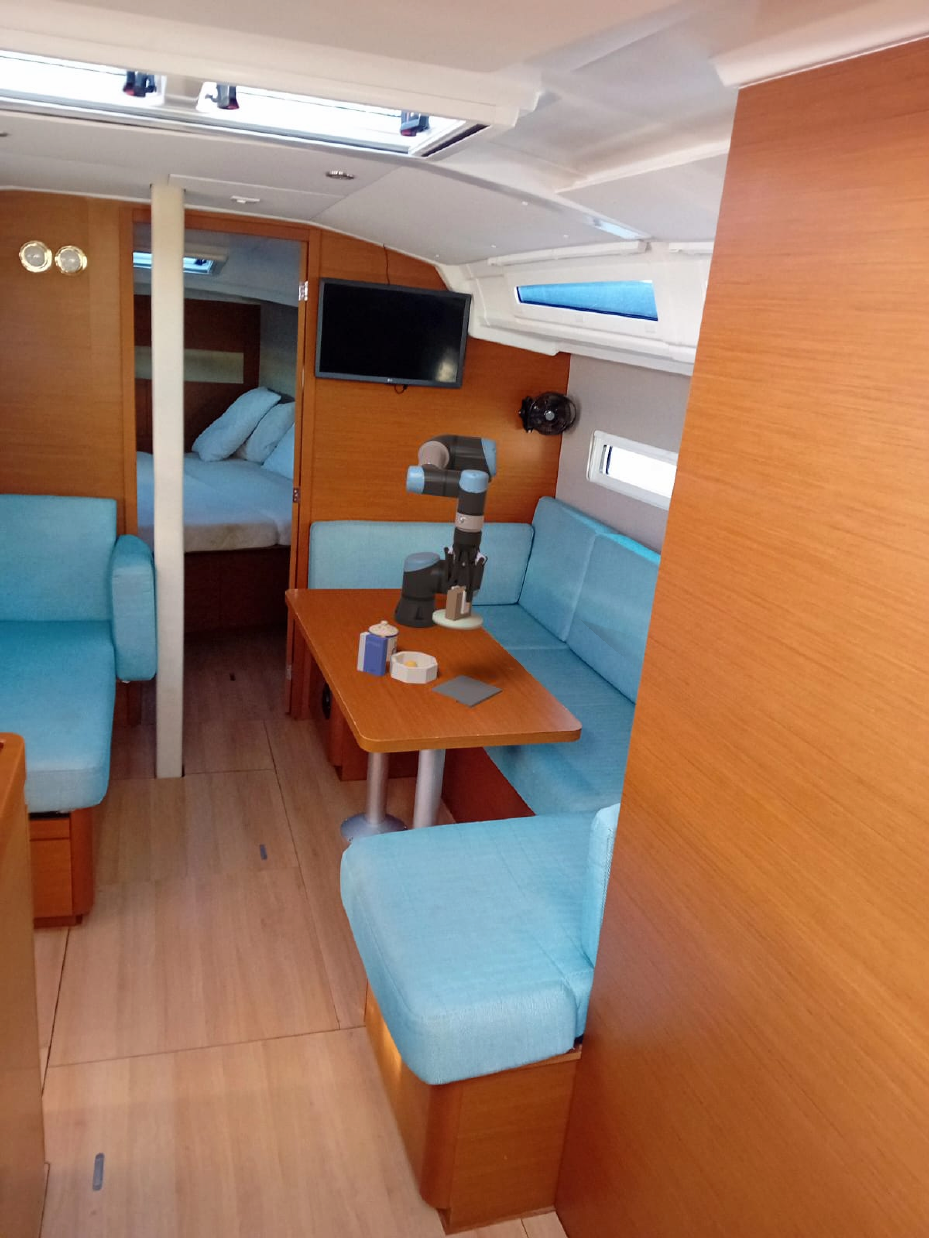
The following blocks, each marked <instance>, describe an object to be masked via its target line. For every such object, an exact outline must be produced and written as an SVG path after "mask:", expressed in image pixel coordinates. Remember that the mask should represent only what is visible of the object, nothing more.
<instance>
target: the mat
mask: <svg viewBox="0 0 929 1238" xmlns="http://www.w3.org/2000/svg"><path fill="white" fill-rule="evenodd" d="M430 690H431V691H432V692H435V693H439V694H440V695H443V696H446V697H449V698H451V699H453V700H455V702H456V703H460V704H462V705H465V706H467V705H468V706H467V707H469V706H470V707H469V708H472V707H474V706H476V705H478V704H480V703H482V702H484V701H486V700H488V699H491V698H492V697H494V696H496V695H498V694H500V693H501V692H500V691H503V688H499V687H496V686H495V685H494V686H493V685H491V684H488V683H485V682H483V681H481V680H477V679H475V678H472V677H469V676H466V675H463V674H460V675H459V676H456V677H454V678H452V679H450V680H448V681H445V682H443V683H441V684H438V685H436V686H434V687H433V688H431V689H430ZM499 692H500V693H499ZM497 693H498V694H497ZM493 695H494V696H493ZM491 696H492V697H491ZM487 698H488V699H487Z"/></svg>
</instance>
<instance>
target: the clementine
mask: <svg viewBox="0 0 929 1238" xmlns="http://www.w3.org/2000/svg"><path fill="white" fill-rule="evenodd" d="M405 666H408V667H418V665H417V664H416V662H414V661H408V662H406V663H405Z"/></svg>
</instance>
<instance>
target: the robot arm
mask: <svg viewBox="0 0 929 1238" xmlns="http://www.w3.org/2000/svg"><path fill="white" fill-rule="evenodd" d="M497 449H498V447H497V442H496V441H495V440H493V439H490V438H485V437H483V436H482V437H478V436H469V435H460V434H459V435H458V434H452V433H446V434H440V435H436V436H433V437H431V438H429V439H427V440H425V442H423V443H422V445H420V447H419V450H418V452H417V458H418V464H417V465H410V466H409V467H408V469H407V474H406V475H407V476H406V488H405V489H406V491H407V492H408V493H410V494H416V495H423V496H424V495H425V496H433V497H444V498H450V499H457V501H456V503H457V504H456V510H455V519H454V520H455V521H454V528H453V529H454V530H453V536H452V545H448V546H444V547H443V552H444V559H442V558H441V557H440V554H438V553H436V552H432V551H431V552H429V551H422V552H421V551H419V552H414V553H411V554H408V556H406V557H405V560H404V563H403V568H402V571H403V573H402V583H401V592H400V598H399V600H398V602H397V605H396V607H395V610H394V612H393V620H394V621H395V622H396V623H398V624H400V625H402V626H406V627H412V628H421V629H422V628H431V627H435V626H436V625H438V624H437V623H435V622H434V621H433V619H432V617H433V613H434V612H435V611H437V610H438V608H437V603H436V595H437V594H438V595H446V596H447V593H448V590H451V589H455V588H459V587H462V586H466V589H465V590H464V591H463V597H462V606H461V614H464V613H467V612H469V603H470V602H472V597H473V598H476V597H477V596H478V594H479V593H480V590H481V586H482V582H483V578H484V573H485V567H486V566H485V565H486V563H487V561H488V556H487V555H483V554H482V553H481V549H480V546H481V543H482V536H483V531H482V530H483V528H484V520H485V509H486V504H487V503H486V501H487V497H488V496H487V495H488V489H489V485H490V484H491V483H492V479H493V478H497V475H498V474H497V472H498V469H497V467H498V465H497V464H498V460H497V459H498V457H497V456H498V455H497V453H498V450H497ZM473 591H474V594H473ZM472 603H473V602H472Z"/></svg>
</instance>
